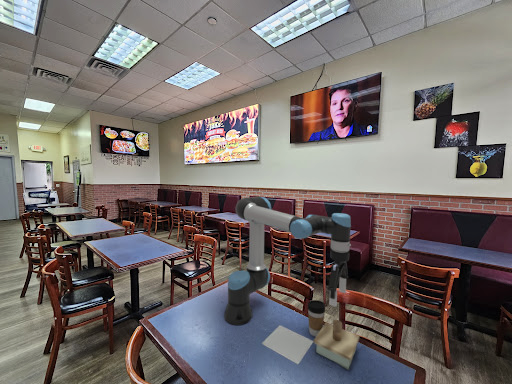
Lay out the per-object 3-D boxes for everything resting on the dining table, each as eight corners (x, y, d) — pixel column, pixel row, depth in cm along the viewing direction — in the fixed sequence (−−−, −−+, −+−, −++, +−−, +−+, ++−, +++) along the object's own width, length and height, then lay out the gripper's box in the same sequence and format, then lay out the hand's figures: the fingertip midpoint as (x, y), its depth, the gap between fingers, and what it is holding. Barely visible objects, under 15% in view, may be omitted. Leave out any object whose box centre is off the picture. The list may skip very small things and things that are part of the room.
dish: (316, 353, 93) (316, 342, 92) (326, 336, 103) (327, 326, 103) (348, 370, 85) (348, 357, 84) (356, 349, 95) (356, 338, 95)
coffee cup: (325, 340, 100) (326, 309, 100) (306, 338, 102) (307, 307, 101) (323, 328, 108) (324, 299, 108) (306, 326, 110) (307, 297, 109)
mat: (261, 344, 97) (261, 343, 97) (279, 326, 110) (279, 325, 110) (298, 365, 86) (298, 364, 86) (313, 342, 99) (313, 341, 99)
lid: (313, 342, 92) (314, 324, 92) (325, 324, 104) (326, 308, 104) (350, 360, 83) (351, 340, 83) (359, 338, 95) (360, 320, 95)
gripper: (340, 260, 80) (338, 315, 81) (356, 245, 99) (354, 289, 101) (320, 255, 84) (318, 308, 85) (339, 242, 104) (337, 284, 105)
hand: (337, 298), depth 93 cm, fingers open, 13 cm apart
